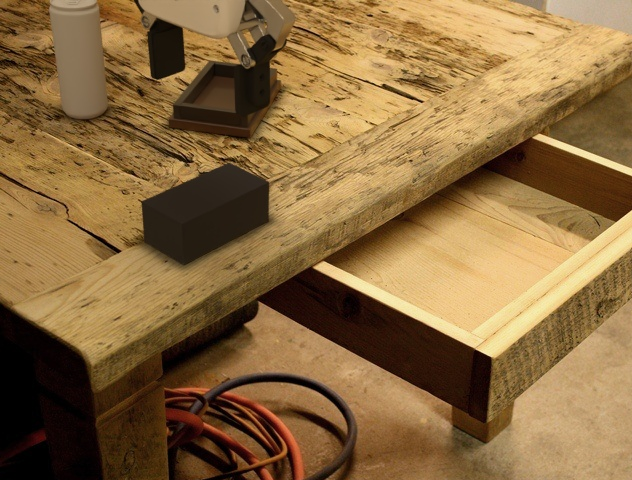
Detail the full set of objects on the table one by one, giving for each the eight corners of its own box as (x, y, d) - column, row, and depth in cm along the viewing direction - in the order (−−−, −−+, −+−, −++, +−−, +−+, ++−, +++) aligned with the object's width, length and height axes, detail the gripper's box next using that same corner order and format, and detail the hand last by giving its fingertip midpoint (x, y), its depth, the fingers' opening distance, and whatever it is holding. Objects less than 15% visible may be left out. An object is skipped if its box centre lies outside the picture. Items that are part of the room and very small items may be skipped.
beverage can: (112, 103, 101) (102, -7, 94) (103, 122, 97) (93, 9, 90) (67, 101, 101) (54, -9, 94) (57, 120, 97) (42, 6, 90)
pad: (183, 265, 76) (181, 223, 74) (144, 242, 79) (140, 201, 76) (269, 221, 83) (269, 181, 80) (229, 200, 85) (229, 162, 83)
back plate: (250, 138, 96) (250, 116, 95) (168, 127, 97) (167, 105, 96) (281, 88, 107) (281, 67, 106) (207, 78, 108) (207, 58, 107)
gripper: (75, -153, 66) (102, 74, 75) (248, -109, 57) (253, 142, 67) (157, -164, 71) (172, 50, 80) (328, -126, 62) (322, 110, 71)
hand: (209, 92), depth 73 cm, fingers open, 9 cm apart
